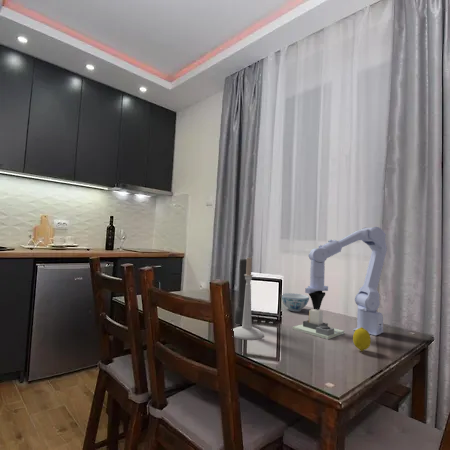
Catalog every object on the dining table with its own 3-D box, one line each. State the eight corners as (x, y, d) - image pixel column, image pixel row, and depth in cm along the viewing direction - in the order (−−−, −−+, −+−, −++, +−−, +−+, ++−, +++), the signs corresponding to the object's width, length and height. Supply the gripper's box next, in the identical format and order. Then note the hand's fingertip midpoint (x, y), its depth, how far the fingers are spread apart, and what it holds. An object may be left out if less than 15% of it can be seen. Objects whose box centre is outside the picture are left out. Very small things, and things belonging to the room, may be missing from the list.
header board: (344, 333, 126) (344, 325, 126) (327, 339, 118) (327, 330, 118) (310, 324, 138) (310, 316, 138) (292, 329, 129) (292, 320, 130)
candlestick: (265, 332, 124) (267, 256, 126) (260, 341, 112) (263, 258, 113) (234, 328, 127) (237, 255, 129) (226, 337, 115) (229, 256, 117)
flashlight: (250, 326, 131) (250, 322, 138) (252, 260, 133) (253, 259, 140) (234, 325, 132) (235, 321, 139) (236, 259, 133) (237, 258, 140)
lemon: (355, 347, 109) (355, 324, 110) (372, 351, 106) (372, 327, 106) (350, 351, 105) (350, 327, 106) (367, 355, 102) (368, 330, 102)
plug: (322, 328, 129) (322, 311, 130) (318, 329, 127) (318, 312, 127) (311, 325, 133) (312, 308, 133) (307, 326, 131) (307, 309, 131)
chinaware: (312, 309, 170) (312, 295, 170) (303, 314, 157) (304, 299, 158) (286, 305, 178) (286, 292, 178) (276, 310, 165) (276, 295, 165)
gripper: (318, 274, 139) (317, 305, 138) (299, 276, 129) (298, 309, 128) (332, 276, 133) (332, 308, 133) (314, 278, 124) (313, 312, 123)
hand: (316, 309), depth 130 cm, fingers closed
